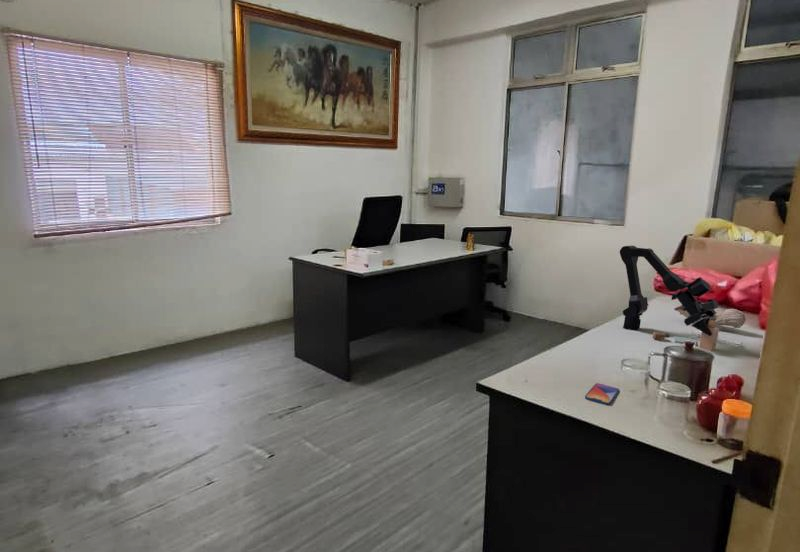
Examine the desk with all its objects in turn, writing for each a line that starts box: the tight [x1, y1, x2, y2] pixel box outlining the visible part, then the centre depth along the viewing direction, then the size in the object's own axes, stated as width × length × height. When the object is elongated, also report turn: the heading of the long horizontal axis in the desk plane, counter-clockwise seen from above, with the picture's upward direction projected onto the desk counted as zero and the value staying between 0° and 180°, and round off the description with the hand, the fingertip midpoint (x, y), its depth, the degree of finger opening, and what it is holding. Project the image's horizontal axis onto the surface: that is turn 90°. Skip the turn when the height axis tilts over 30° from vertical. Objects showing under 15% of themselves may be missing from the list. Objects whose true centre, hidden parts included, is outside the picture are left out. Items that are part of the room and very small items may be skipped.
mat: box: [673, 335, 697, 346], centre depth 214 cm, size 8×8×1 cm
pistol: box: [691, 330, 743, 347], centre depth 222 cm, size 2×20×11 cm
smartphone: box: [584, 383, 620, 406], centre depth 154 cm, size 7×15×1 cm, turn 145°
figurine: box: [674, 304, 747, 329], centre depth 241 cm, size 12×12×30 cm
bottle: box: [698, 316, 720, 352], centre depth 205 cm, size 5×5×14 cm
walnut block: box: [652, 331, 666, 342], centre depth 216 cm, size 4×4×3 cm
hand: (713, 334), depth 204 cm, fingers open, 5 cm apart
